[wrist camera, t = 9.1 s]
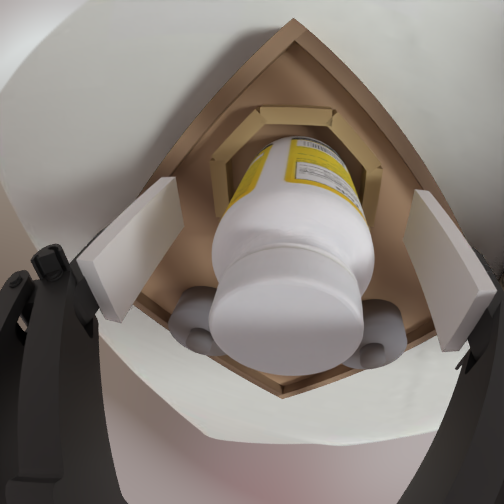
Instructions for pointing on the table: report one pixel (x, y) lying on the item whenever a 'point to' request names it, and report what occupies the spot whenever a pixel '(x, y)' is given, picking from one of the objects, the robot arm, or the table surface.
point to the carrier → (234, 168)
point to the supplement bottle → (292, 262)
